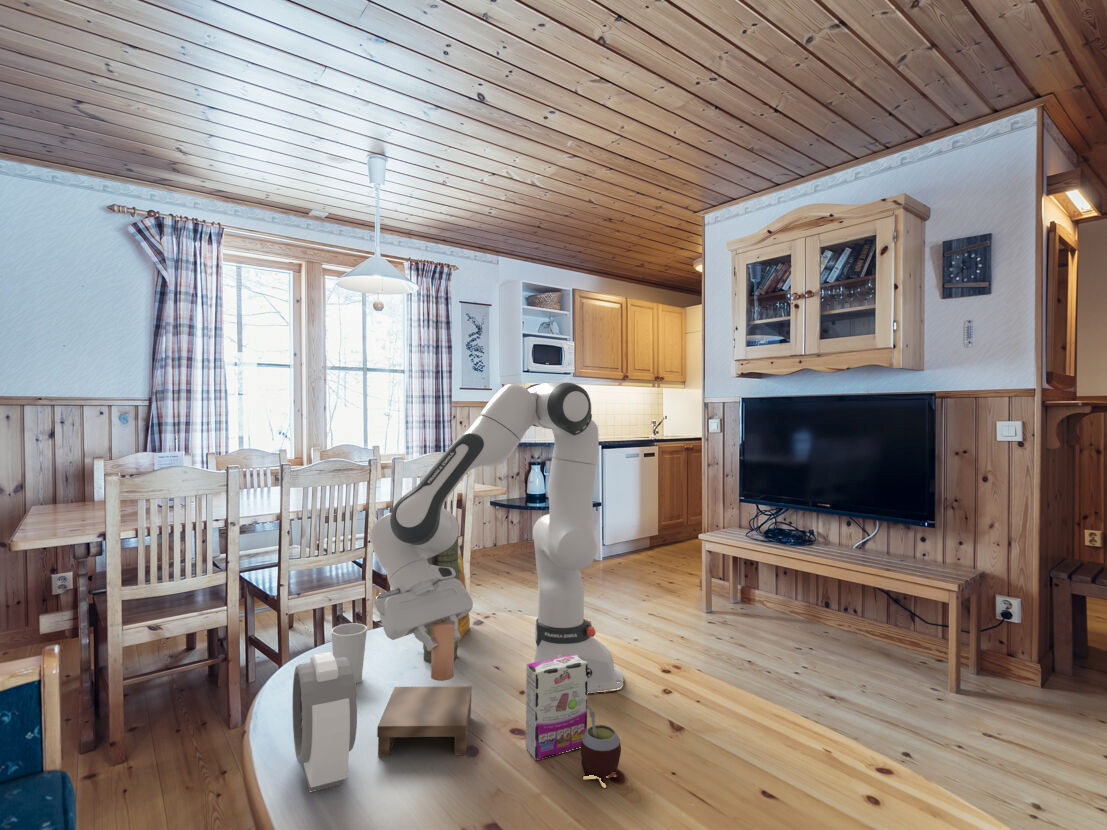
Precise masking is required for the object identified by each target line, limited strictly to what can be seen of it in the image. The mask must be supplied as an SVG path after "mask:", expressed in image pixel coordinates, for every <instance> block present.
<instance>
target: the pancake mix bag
mask: <svg viewBox="0 0 1107 830" xmlns="http://www.w3.org/2000/svg"><path fill="white" fill-rule="evenodd" d="M461 552H462V551H461V549H460V545H459V543H458V565H459V568H460V582H461V583H462V584H463V586H464V587H465V589H466V590H467V585H466V575H465V568H464V567H465V566H464V561H463V556H462V553H461ZM457 619H458V632H459V634H460V636H461V637H460V638H459V640H458V642H459V641H461V639H462V638H463V637H464V636H465V634H466V633H467V632H468V631H467V630H469V629H470V627H471V626H470V625H471V624H470V623H471V622H470V621H471V619H470V612H469V613H468V614H467V615H466V616H463V617H460V618H457Z"/></svg>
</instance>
